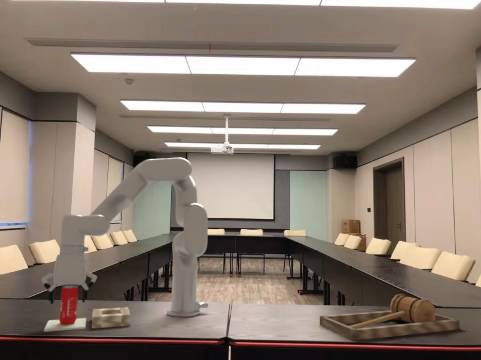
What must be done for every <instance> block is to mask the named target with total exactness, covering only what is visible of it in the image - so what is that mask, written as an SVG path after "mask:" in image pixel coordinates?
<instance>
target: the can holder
mask: <svg viewBox="0 0 481 360" xmlns="http://www.w3.org/2000/svg"><path fill="white" fill-rule="evenodd" d="M91 314H92V318H91V329H101V328H103V329H104V328H113V327H126V326H131V315H132V314H131V312H130V309H129V307H128V306H126V307H112V308H111V307H110V308H109V307H108V308H107V307H106V308H93V309H92V313H91Z"/></svg>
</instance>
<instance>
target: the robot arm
mask: <svg viewBox="0 0 481 360" xmlns="http://www.w3.org/2000/svg"><path fill="white" fill-rule="evenodd" d="M192 171H193V165H192V164H191V162H190V161H189V160H187V159H186V158H183V157H172V158H171V157H170V158H149V159H145V160H143V161H142V162H139V163H138V164H137V165H136V166H135V167H134V168H133V169H132V170H131V171H130V172H129V173H128V174H127V176H126V177H124V179H122V181H121V182H120V183H119V184H118V185H117V186H116V187H115V188H114V189H113V190H112V191H111V192H110V193H109V194H108V195H107V197H106V198H105V199H104V200H103V201H101V202H100V204H99V205H98V206H96V208H95V209H94V210H93V211H92V212H91V213H90V214H89V215H83V214H64V215H63V217H62V219H61V220H62V221H61V230H60V231H61V232H60V245H59V254H56V258H55V262H54V269H53V272H51V273H49V274H46V275H44V276H43V277H41V278H40V280H41V283H42V284H43V286H44V288H45V289H46V290H47V291H48V292H49V294H48V302H50V305H53V304H54V302H55V294H56V293H55V288H56V287H57V286H70V285H74V286H82V288H83V289H82V299H81V300H82V303H85V301H86V300H88V290H89V289H91V287H92V286H93V285H95V282H96V281H97V279H98V276H97V275H95V274H94V273H91V272H89V271H88V270H87V265H88V262H87V255H86V254H84V253H85V252H89V247H88V246H85V240H86V239H85V238H86V236H91V237H101V236H104V235H106V234H107V233H108V232H109V231H110V228H111V222H112V221H113V220H114V219H115V218H116V217H118V215H119V214H120V213H122V212H123V211H125V210H127V209H128V208H130V207H131V206H132V205H133V204H134V203H135V202H136V201H137V200H138V199H139V197H140V196H141V195H142V194H143V193H144V192H145V191H146V190H147V189H148V188H149V187H150V186H151V184H152V183H155V182H169V183H170V184H171V185H172V186H173V188H174V192H175V216H174V217H175V221H176V223H177V225H178V226H180V228H181V227H182V228H183V231H181V232H178V233H177V234H176V235H175V236H174V238H173V239H172V240H173V241H172V244H171V245H172V246H171V247H172V248H171V249H172V261H173V263H172V285H171V304H170V305H171V307H170V308H168V309H167V310H166V314H167V315H168V316H171V317H174V318H175V317H176V318H190V317H195V316H198V315H200V313H201V309H207V308H209V302H203V301H202V302H201V301H200V302H199V301H198V300H197V294H198V293H197V292H198V291H197V290H198V289H197V288H198V284H197V283H198V258H199V257H200V256H202V255H203V254H204V253H205V252H206V250H207V248H208V242H209V241H208V238H209V237H208V236H209V235H208V234H209V231H208V228H209V225H208V224H209V222H208V218H209V217H208V212H207V210H206V209H205V207H204V206H203V205H202V204H200V203H198V191H197V190H198V189H197V184H196V182H195V180H194V179H193V177H192V176H191V175H192V173H193V172H192ZM87 277H89V278H90V279H91V280H90V282H88V284H87V283H86V280H87ZM50 278H51V279H52V285H51V284H50V283H49V282H48V280H49V279H50Z"/></svg>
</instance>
